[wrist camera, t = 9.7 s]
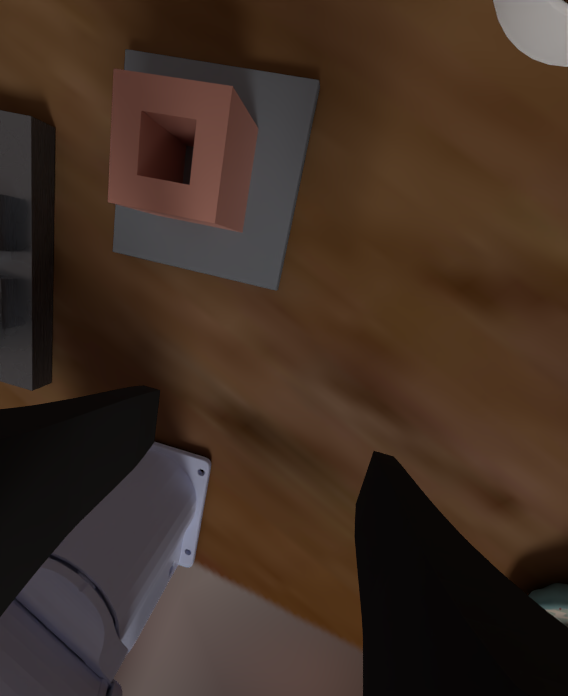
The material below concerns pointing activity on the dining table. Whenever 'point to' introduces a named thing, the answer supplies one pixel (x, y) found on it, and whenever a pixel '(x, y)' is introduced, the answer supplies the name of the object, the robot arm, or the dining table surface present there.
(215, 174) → the collar block
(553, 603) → the stuffed animal
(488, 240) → the dining table surface
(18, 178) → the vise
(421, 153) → the dining table surface
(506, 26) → the hook
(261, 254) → the mat
